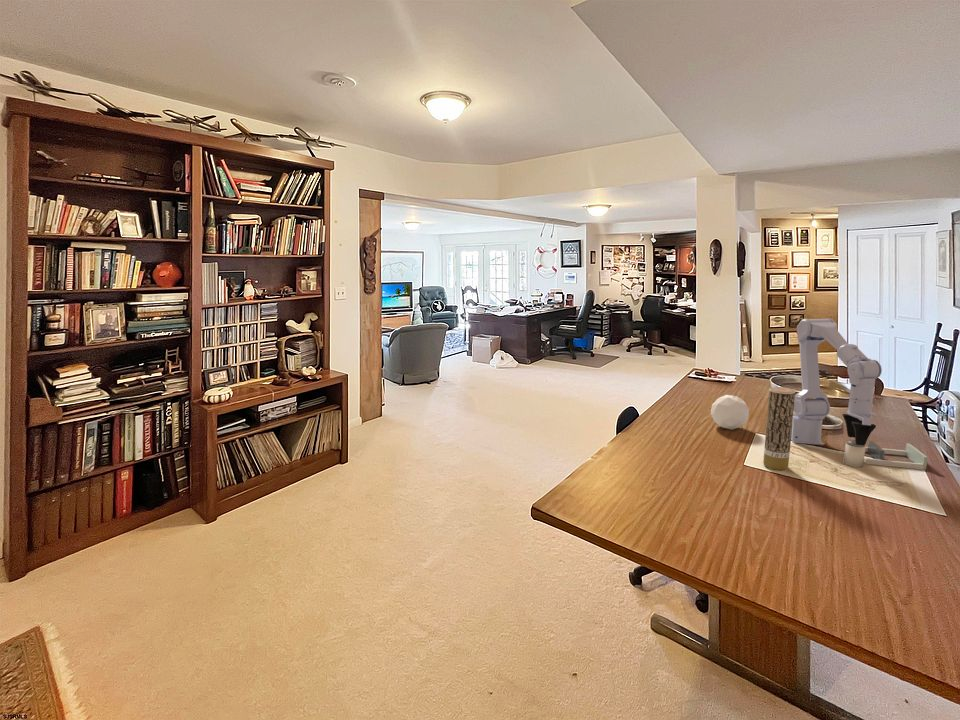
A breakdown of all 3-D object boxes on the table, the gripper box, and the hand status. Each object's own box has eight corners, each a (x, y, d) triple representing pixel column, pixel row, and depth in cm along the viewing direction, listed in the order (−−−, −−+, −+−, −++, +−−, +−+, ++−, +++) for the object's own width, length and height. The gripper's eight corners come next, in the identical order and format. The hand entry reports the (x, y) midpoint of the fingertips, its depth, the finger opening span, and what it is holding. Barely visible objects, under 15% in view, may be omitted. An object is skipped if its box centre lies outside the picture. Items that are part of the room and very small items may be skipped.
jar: (846, 466, 152) (848, 443, 151) (841, 460, 157) (843, 438, 156) (865, 468, 150) (868, 445, 149) (860, 462, 155) (862, 440, 154)
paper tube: (758, 463, 156) (764, 387, 152) (778, 461, 157) (785, 386, 152) (772, 471, 149) (779, 392, 145) (793, 470, 150) (800, 391, 146)
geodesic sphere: (698, 407, 200) (711, 386, 190) (729, 405, 201) (744, 384, 191) (713, 436, 190) (727, 416, 180) (745, 434, 192) (762, 414, 182)
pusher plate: (878, 462, 154) (880, 450, 153) (867, 451, 163) (869, 440, 162) (882, 462, 153) (884, 450, 153) (871, 452, 162) (872, 440, 162)
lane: (866, 463, 154) (868, 451, 153) (853, 450, 165) (854, 438, 165) (925, 469, 148) (927, 457, 148) (908, 455, 160) (909, 443, 159)
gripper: (886, 405, 142) (880, 449, 144) (868, 394, 155) (863, 434, 157) (856, 403, 144) (851, 447, 147) (841, 392, 158) (837, 432, 160)
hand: (856, 440), depth 152 cm, fingers open, 7 cm apart
